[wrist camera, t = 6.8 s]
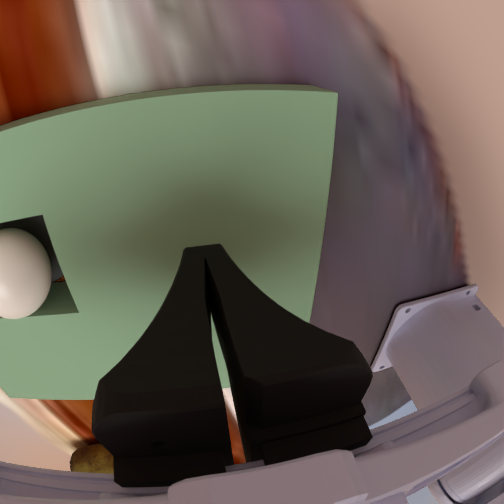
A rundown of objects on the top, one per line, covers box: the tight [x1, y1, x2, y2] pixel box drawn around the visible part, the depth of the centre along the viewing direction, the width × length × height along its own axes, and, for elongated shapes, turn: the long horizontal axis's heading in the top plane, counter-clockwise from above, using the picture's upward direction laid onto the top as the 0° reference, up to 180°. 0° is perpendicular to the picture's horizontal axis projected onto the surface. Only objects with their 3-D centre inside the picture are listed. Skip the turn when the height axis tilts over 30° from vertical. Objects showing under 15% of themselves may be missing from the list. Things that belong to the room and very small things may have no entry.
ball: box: [0, 228, 52, 319], centre depth 11 cm, size 4×4×4 cm
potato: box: [70, 444, 114, 474], centre depth 24 cm, size 8×13×8 cm, turn 58°
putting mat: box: [0, 84, 338, 400], centre depth 14 cm, size 20×16×2 cm
